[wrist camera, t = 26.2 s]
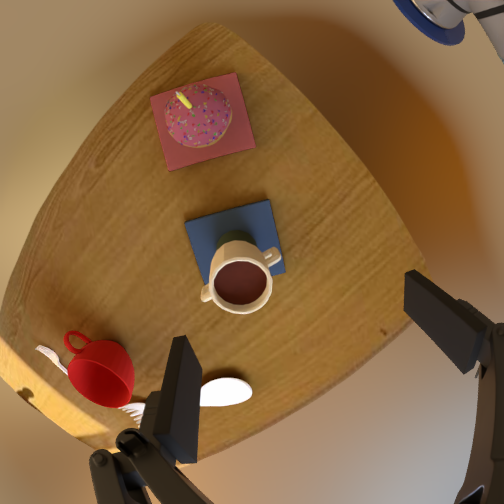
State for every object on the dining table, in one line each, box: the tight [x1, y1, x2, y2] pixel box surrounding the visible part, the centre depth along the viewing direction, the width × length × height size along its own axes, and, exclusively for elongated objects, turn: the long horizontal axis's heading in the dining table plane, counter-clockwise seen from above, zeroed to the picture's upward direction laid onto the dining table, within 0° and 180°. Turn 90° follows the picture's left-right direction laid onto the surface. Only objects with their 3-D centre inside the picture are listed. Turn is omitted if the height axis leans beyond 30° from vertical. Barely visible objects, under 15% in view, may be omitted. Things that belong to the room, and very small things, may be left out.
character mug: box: [201, 230, 281, 314], centre depth 36 cm, size 11×7×13 cm, turn 120°
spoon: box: [118, 378, 252, 427], centre depth 52 cm, size 9×32×4 cm, turn 112°
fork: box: [36, 345, 68, 375], centre depth 49 cm, size 3×20×2 cm, turn 36°
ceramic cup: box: [64, 331, 134, 408], centre depth 43 cm, size 13×17×10 cm
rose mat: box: [150, 72, 256, 171], centre depth 36 cm, size 13×12×1 cm
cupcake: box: [165, 84, 232, 148], centre depth 30 cm, size 9×8×12 cm
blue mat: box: [184, 199, 286, 285], centre depth 43 cm, size 13×12×1 cm
